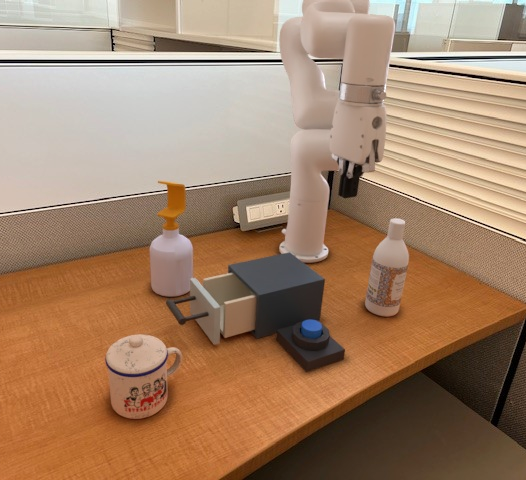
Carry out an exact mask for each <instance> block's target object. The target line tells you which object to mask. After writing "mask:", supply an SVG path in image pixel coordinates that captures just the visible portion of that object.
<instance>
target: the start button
mask: <svg viewBox="0 0 526 480" xmlns="http://www.w3.org/2000/svg"><path fill="white" fill-rule="evenodd" d="M321 324H322V323H321V322H320V321H316V320H311V319H309V320H305V321H303V322H302V327H301V334H302V335H303V336H305V337H307V338H314V339H315V338H319V337H320V336H321V332H322V325H321Z"/></svg>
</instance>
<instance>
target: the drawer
mask: <svg viewBox="0 0 526 480" xmlns="http://www.w3.org/2000/svg"><path fill="white" fill-rule="evenodd" d="M183 303H189V313H190V315H188V316H184V314H183V313H182V311H181V310H180V308H179V307H178V306H177V305H179V304H183ZM256 303H257V296H256V295H255V294H254V293H253V292H252V291H251V290H250V289H249V288H248V287H246V286H245V285H244V284H243V283H242V282H241V281H240V280H239V279H238V278H237V277H236V276H235V275H234V274H233V273H228V272H227V273H223V274H218V275H214V276H209V277H205V278H203V279H202V283H201V282H200V281H199V280H198V279H197V277H193V278H191V279H190V291H189V296H187V297H183V298H178V299H174V300H173V299H172V298H168V299H166V301H165V305H166V307H167V308H168V309H169V311H170V313H171V314H172V315H173V317H174V318H175V320H176V322H178V324H179V325H180V326H184V325H186V324H187V322H191V321H194V320H195V321H196V323H197V324H198V325H199V327H200V328H201V330H202V331H203V332H204V334H205V335H206V336H207V338H208V339H209V340H210V342H211V343H212V344H213V346H215V345H219V344H221V335H222V336H223V338H224V339H227V338H229V337H233V336H237V335H241V334H244V333H248V332H250V331H251V330H255V319H256Z"/></svg>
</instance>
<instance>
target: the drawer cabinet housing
mask: <svg viewBox="0 0 526 480" xmlns="http://www.w3.org/2000/svg"><path fill="white" fill-rule="evenodd" d="M227 273H233V274H234V275H235V276H236V277H237V278H238V279H239V280H240V281H241V282H242V283H243V284H244V285H245V286H246V287H248V288H249V289H250V290H251V291H252V292H253V293H254V294H255V295H256V296H257V303H256V319H255V330H251V331H249V332H250V334H251V335H252V336H253V337H254V339H256V340H258V339H261V338H264V337H268V336H271V335H275V334H277V330H279V329H283V328H286V327H290V326H293V325H296V324H297V323H299V322H302V321H305V320H309V319H311V320H316V321H318V322H320V320H321V314H322V308H323V307H322V306H323V298H324V292H325V291H324V290H325V282H326V279H325V278H324V277H323V276H322V275H320V273H318V272H317V271H315V270H314V269H313V268H311V267H310V266H308V265H307V264H306V263H304V262H302V261H300V260H299V259H298V258H296V257H295V256H294V255H292V254H291V253H290V252H289V253H284V254H281V253H279V254H275V255H269V256H264V257H260V258H255V259H250V260H246V261H241V262H236V263H232V264H227Z"/></svg>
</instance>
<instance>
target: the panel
mask: <svg viewBox="0 0 526 480" xmlns="http://www.w3.org/2000/svg"><path fill="white" fill-rule="evenodd" d="M302 322H303V321H302ZM302 322H299V323H297V324H296V325H293V326H290V327H286V328H283V329H279V330H277V333H276V337H275V340H276V341H277V342H278V343H279V344H280V346H282V348H283V349H285V351H286V352H287V353H288V354H289V355H290V356H291V357H292V358H293V360H295V361H296V362H297V364H299V366H300V367H301V368H302V369H303V370H304V371H305V372H306V373H308V372H311V371H315V370H316V369H317V370H318V369H320V368H322V367H325V366H328V365H331V364H334V363H337V362H341V361H343V360H344V359H345V354H346V348H344V347H343V346H342V345H341V344H340V343H338V341H337V340H335V339H334V337H332V336H331V334H330V330H329V328H328V327H326V325H325V324H323V323H321V325H322V332H321V336H320V337H319V338H315V339H314V338H307V337H305V336H303V335H302V334H301V327H302Z"/></svg>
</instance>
